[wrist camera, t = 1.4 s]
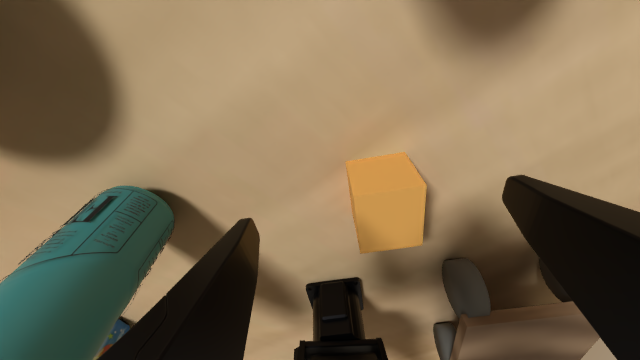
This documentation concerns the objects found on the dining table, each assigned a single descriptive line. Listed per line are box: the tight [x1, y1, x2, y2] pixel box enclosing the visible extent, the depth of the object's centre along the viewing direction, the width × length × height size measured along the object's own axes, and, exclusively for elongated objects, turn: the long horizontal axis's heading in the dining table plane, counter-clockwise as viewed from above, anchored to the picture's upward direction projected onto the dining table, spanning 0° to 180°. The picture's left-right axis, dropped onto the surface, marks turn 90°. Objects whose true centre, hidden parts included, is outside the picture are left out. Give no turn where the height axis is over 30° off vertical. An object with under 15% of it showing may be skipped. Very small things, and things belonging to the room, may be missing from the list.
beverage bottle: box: [0, 186, 174, 360], centre depth 15 cm, size 6×7×20 cm
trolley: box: [433, 258, 600, 360], centre depth 29 cm, size 21×14×12 cm, turn 10°
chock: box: [346, 152, 427, 254], centre depth 21 cm, size 6×5×5 cm
